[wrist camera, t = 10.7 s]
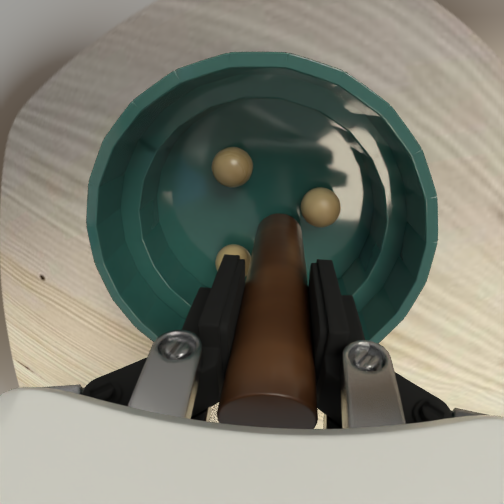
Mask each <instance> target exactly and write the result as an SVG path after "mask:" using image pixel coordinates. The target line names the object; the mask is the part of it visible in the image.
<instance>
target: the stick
mask: <svg viewBox="0 0 504 504" xmlns="http://www.w3.org/2000/svg"><path fill="white" fill-rule="evenodd" d="M217 417H218V421H219V423H223V424H232V425H241V426H253V427H267V428H286V429H314V427H315V426H316V424H317V420H318V413H317V393H316V377H315V365H314V353H313V340H312V327H311V315H310V304H309V293H308V281H307V271H306V262H305V253H304V245H303V236H302V230H301V227H300V225H299V223H298V222H297V221H296V220H295V219H294V218H293V217H291V216H289V215H286V214H281V213H277V214H272V215H269V216H267V217H266V218H264V219H263V220H262V221H261V222H260V224H259V225H258V228H257V232H256V236H255V241H254V245H253V250H252V255H251V259H250V264H249V268H248V273H247V278H246V282H245V288H244V293H243V298H242V302H241V307H240V312H239V316H238V321H237V325H236V330H235V335H234V339H233V344H232V349H231V353H230V358H229V361H228V365H227V370H226V374H225V379H224V383H223V388H222V393H221V397H220V402H219V406H218V411H217Z"/></svg>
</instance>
